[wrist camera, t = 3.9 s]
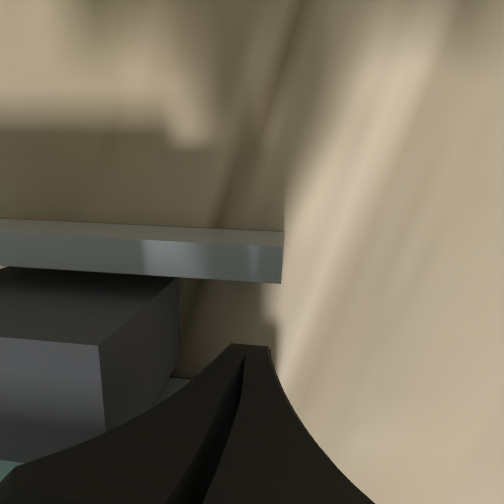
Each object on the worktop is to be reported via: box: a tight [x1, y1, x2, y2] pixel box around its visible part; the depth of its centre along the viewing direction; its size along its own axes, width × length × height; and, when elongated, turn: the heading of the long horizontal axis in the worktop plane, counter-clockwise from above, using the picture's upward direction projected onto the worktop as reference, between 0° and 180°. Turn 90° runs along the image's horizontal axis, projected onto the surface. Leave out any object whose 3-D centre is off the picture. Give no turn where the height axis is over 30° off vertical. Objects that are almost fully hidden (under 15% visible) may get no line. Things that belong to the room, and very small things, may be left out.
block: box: [0, 266, 180, 463], centre depth 12 cm, size 4×8×6 cm, turn 89°
